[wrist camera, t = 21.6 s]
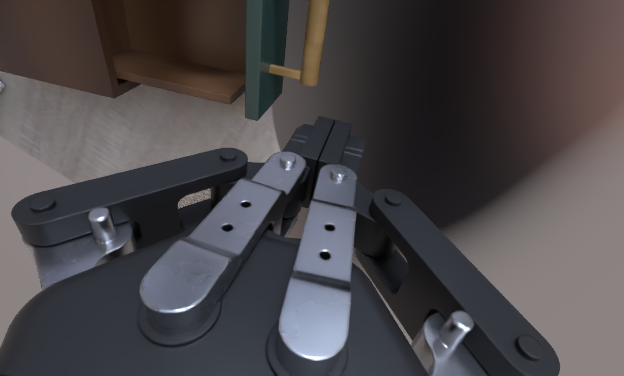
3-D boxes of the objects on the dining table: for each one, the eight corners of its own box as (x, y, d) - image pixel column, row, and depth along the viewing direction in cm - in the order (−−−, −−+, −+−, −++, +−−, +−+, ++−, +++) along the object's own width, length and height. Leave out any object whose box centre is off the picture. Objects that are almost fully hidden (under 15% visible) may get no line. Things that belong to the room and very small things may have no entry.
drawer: (348, -64, 26) (331, -65, 21) (322, 102, 34) (305, 132, 29) (104, -106, 28) (31, -116, 23) (134, 60, 37) (86, 80, 31)
